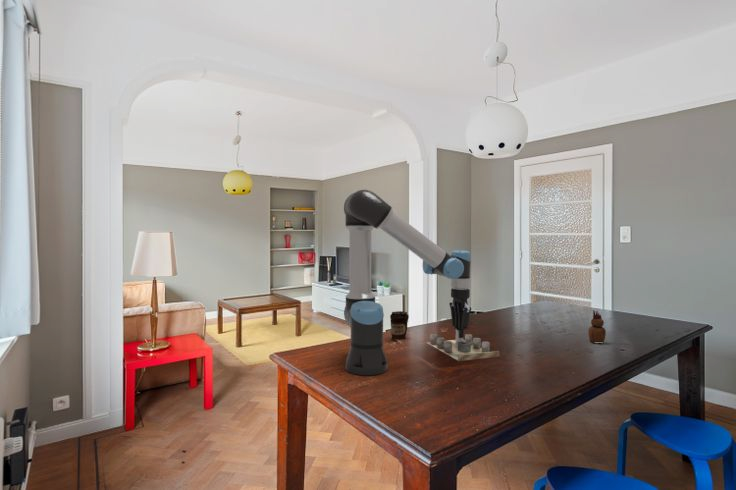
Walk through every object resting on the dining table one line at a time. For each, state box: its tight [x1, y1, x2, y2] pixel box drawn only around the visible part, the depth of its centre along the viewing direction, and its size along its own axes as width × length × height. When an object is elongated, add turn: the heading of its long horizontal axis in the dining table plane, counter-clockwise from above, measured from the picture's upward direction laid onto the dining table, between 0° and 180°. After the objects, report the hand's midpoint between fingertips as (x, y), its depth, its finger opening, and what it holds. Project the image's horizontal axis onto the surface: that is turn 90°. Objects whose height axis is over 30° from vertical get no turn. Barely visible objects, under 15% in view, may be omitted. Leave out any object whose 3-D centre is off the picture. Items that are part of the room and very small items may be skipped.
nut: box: [458, 341, 471, 353], centre depth 163 cm, size 6×5×3 cm
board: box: [426, 333, 500, 362], centre depth 165 cm, size 18×26×6 cm
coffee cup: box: [389, 310, 409, 343], centre depth 182 cm, size 9×8×13 cm
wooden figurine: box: [587, 309, 607, 343], centre depth 182 cm, size 7×6×15 cm
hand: (459, 344), depth 166 cm, fingers closed
